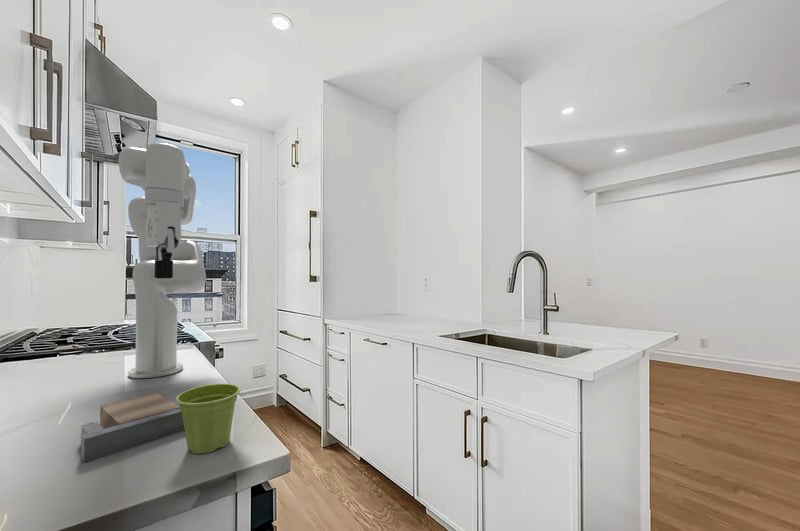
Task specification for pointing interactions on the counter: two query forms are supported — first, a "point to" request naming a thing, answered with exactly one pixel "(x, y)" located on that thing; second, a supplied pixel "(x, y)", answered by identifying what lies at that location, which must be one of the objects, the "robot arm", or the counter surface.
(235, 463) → the counter surface
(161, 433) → the stop bracket
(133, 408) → the walnut slab
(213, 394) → the plant pot
